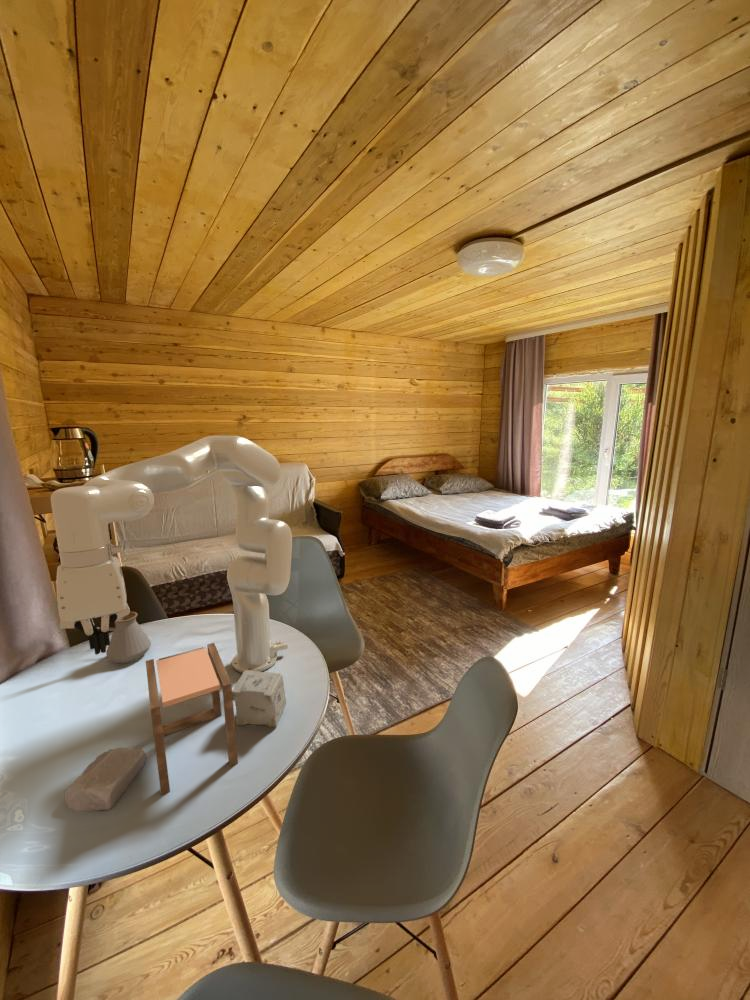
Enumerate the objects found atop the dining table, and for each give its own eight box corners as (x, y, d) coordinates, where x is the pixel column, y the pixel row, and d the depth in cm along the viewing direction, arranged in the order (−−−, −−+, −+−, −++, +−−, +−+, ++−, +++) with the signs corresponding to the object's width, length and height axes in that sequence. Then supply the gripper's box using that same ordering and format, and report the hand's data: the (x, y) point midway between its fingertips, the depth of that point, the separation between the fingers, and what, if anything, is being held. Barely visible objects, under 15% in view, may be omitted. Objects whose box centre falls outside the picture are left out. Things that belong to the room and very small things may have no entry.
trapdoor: (204, 652, 97) (203, 642, 96) (220, 696, 81) (219, 684, 81) (156, 665, 91) (155, 654, 91) (164, 714, 76) (162, 702, 76)
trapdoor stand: (220, 711, 99) (214, 642, 96) (237, 763, 84) (231, 683, 81) (154, 734, 92) (145, 660, 89) (161, 795, 77) (150, 709, 74)
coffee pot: (147, 642, 132) (141, 598, 129) (155, 657, 123) (150, 610, 120) (64, 667, 118) (56, 619, 115) (67, 686, 109) (58, 634, 107)
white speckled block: (232, 729, 94) (229, 688, 92) (249, 704, 102) (246, 666, 100) (273, 733, 92) (271, 691, 90) (287, 708, 100) (285, 669, 98)
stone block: (62, 820, 74) (113, 812, 74) (53, 796, 74) (105, 789, 73) (108, 768, 86) (152, 761, 85) (101, 747, 86) (145, 740, 85)
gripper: (134, 544, 80) (145, 631, 84) (37, 557, 73) (54, 652, 76) (135, 554, 74) (147, 648, 77) (28, 570, 67) (47, 673, 70)
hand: (101, 650), depth 77 cm, fingers closed
